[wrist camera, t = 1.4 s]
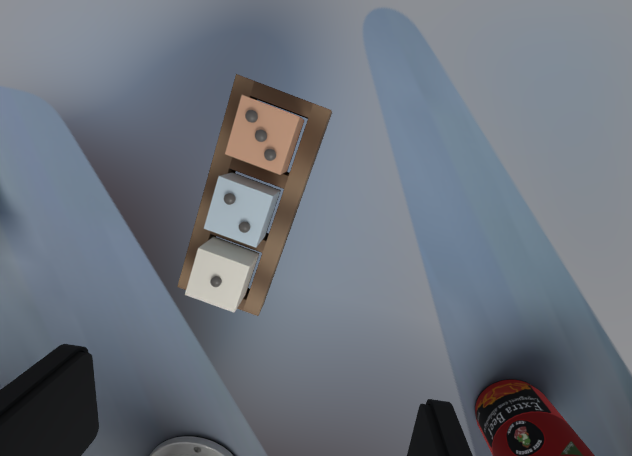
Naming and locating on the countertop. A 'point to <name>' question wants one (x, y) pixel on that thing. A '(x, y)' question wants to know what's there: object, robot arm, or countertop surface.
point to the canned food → (524, 423)
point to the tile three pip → (264, 135)
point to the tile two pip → (241, 209)
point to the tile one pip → (221, 273)
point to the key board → (288, 181)
